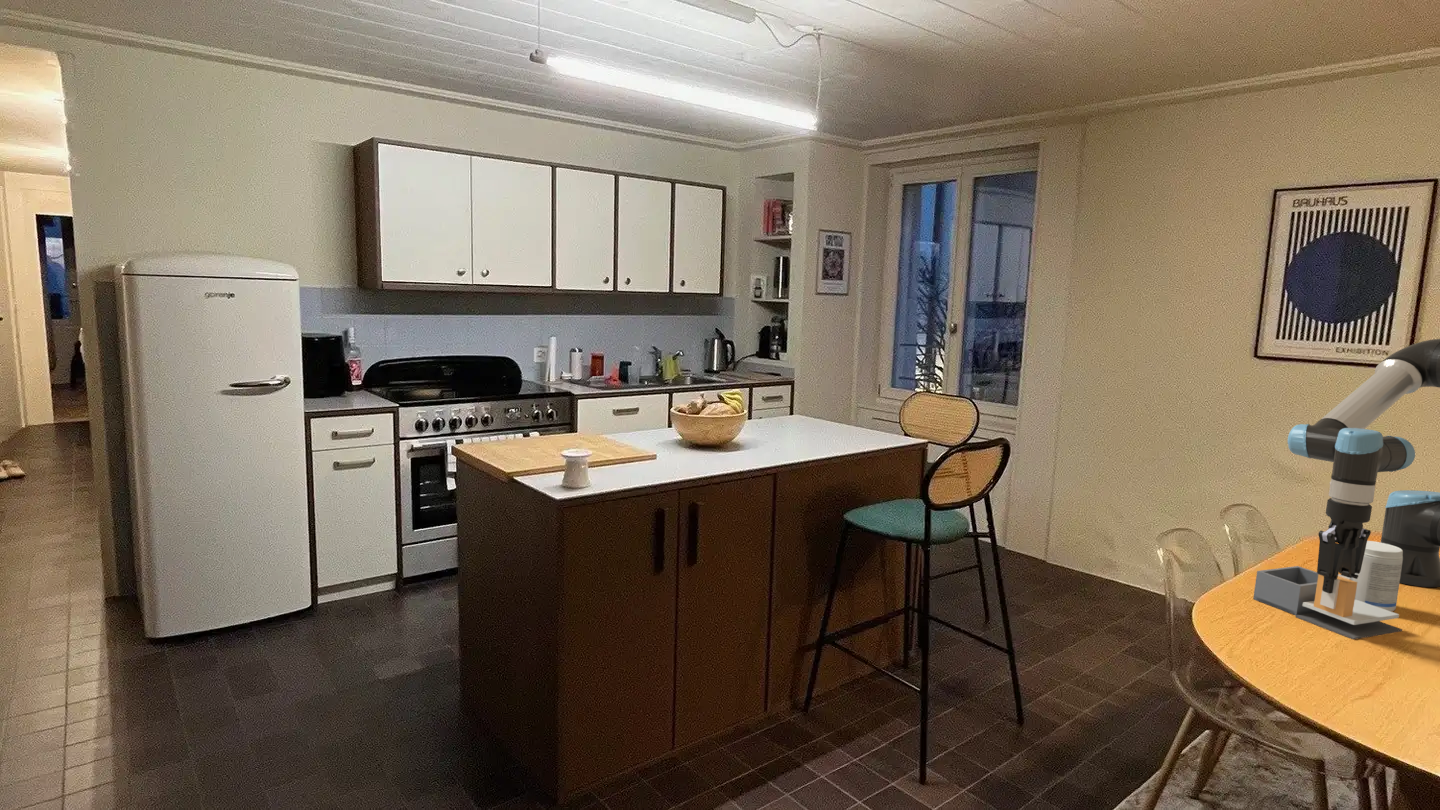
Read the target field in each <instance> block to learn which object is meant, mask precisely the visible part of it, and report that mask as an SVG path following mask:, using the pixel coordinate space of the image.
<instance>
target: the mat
mask: <svg viewBox="0 0 1440 810" xmlns="http://www.w3.org/2000/svg"><path fill="white" fill-rule="evenodd" d="M1294 616H1295V615H1294ZM1295 618H1297V619H1299V620H1302V621H1304V622H1307V623H1310V624H1311V625H1315V626H1317V627H1320V628H1322V629H1325V630H1328V631H1330V632H1333V633H1335V634H1338V635H1340V636H1343V637H1345V638H1348V639H1351V640H1359V639H1365V638H1370V637H1375V636H1383V635H1389V634H1393V633H1398V632H1399V633H1400V632H1403V629H1402V628H1400V627H1397V626H1393V625H1391V624H1388V623H1386V622H1384V621H1376V622H1370V623H1363V624H1357V625H1353V624H1350V623H1347V622H1345V621H1342V620H1339V619H1336V618H1334V617H1331V616H1328V615H1326V614H1323V613H1320V612H1315V613H1308V614H1302V615H1296V616H1295Z"/></svg>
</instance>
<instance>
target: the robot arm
mask: <svg viewBox="0 0 1440 810" xmlns="http://www.w3.org/2000/svg"><path fill="white" fill-rule="evenodd" d="M1426 387H1428V388H1429V387H1433V388H1440V338H1433V339H1427V340H1423V341H1419V342H1417V343H1413V344H1411V345H1408V346H1405V347H1404V348H1401V349H1399V350H1397V351H1395V352H1394V353H1392V354H1390V355H1389V356H1387V357H1386V358H1384V359H1383V360H1382V361H1381V362H1379V363H1378V364H1377V365H1376V367H1375V369H1374V373H1373V374H1372V375H1371V376H1370V377H1368V379H1367V380H1366V381H1364V382H1363V383H1361V385H1359V387H1357V388H1356V389H1355V390H1354V391H1352V392H1351V393H1349V395H1347V396H1346V397H1345V398H1344V399H1343V400H1342V401H1340V402H1339V403H1338V404H1337V405H1336V406H1334V407H1333V408H1332V409H1331V410H1330V411H1328V413H1326V414H1325V415H1324V416H1323V417H1322V418H1320V419H1319V420H1317V422H1316V423H1314V424H1310V423H1306V424H1304V423H1303V424H1302V423H1300V424H1296V425H1295V426H1293V427H1291V430H1290V431H1289V433H1288V436H1287V445H1288V450H1289V451H1290V452H1291V453H1292V454H1294V455H1296V456H1297V455H1298V456H1301V457H1304V458H1307V459H1314V460H1318V461H1324V462H1331V463H1333V464H1332V470H1331V471H1332V472H1331V476H1330V478H1331V479H1330V481H1329V488H1328V489H1329V491H1328V496H1329V497H1330V498H1328V499H1327V501H1326V502H1327V503H1326V509H1325V515H1326V516H1327V517H1328V518H1330V523H1329V524H1328V529H1327V530H1325V531H1324V530H1319V531H1318V538H1319V539H1318V540H1319V546H1318V557H1317V568H1316V572H1317V573H1318V574H1319V575H1322V576H1324V581H1323V588H1322V595H1321V601H1320V604H1321V605H1323V606H1326V607H1329V608H1332V609H1335V608H1336V602H1337V595H1338V589H1339V583H1340V580H1339V579H1337V577H1338V576H1340V577H1343V578H1346V579H1349V580H1351V578H1355V579H1357V578H1358V576H1359V575H1356V574H1355V573H1357V574H1359V573H1360V571H1361V567H1362V562H1363V558H1364V553H1365V549H1366V544H1367V541H1369V538H1370V536H1371V532H1372V531H1371V530H1370V529H1367V528H1364V524H1365V523H1368V522H1370V521H1371V516H1372V509H1373V506H1372V505H1371V504H1372V503H1374V497H1375V490H1376V485H1377V484H1376V483H1377V478H1378V473H1387V472H1390V473H1392V472H1397V471H1400V470H1403V469H1406V468H1408V467H1410V466H1411V465H1412V464H1413V462H1414V461H1415V458H1416V450H1415V447H1414V446H1413V444H1412V443H1411V442H1410V441H1409V440H1407V439H1406V438H1403V437H1400V436H1392V435H1386V436H1383V434H1382V433H1381V432H1380V431H1378V430H1373V429H1366V428H1368V427H1369V426H1370V425H1371V424H1372V423H1374V421H1376V419H1378V418H1379V417H1381V416H1382V414H1384V413H1386V411H1387V410H1388V409H1390V408H1391V407H1392V406H1393V405H1394V404H1395V403H1397V402H1398V401H1399V400H1400V399H1401V398H1402V397H1404V396H1405V395H1408V394H1411V393H1415V392H1416V391H1418V390H1419V389H1420V388H1426ZM1387 497H1388V498H1387V501H1386V505H1385V507H1384V508H1385V511H1384V519H1383V524H1382V525H1383V526H1382V530H1381V531H1382V532H1381V536H1380V538H1381V539H1380V543H1385V544H1389V545H1393V546H1396V547H1398V548H1400V549H1402V550H1403V555H1402V556H1403V561H1402V569H1401V575H1400V582H1399V584H1402V585H1403V584H1404V585H1409V586H1415V587H1422V588H1423V587H1424V588H1440V492H1439V491H1429V490H1409V489H1408V490H1407V489H1405V490H1401V489H1400V490H1394V491H1392V492H1391V493H1389V495H1388V496H1387ZM1355 566H1356V567H1355Z"/></svg>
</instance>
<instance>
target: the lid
mask: <svg viewBox="0 0 1440 810" xmlns="http://www.w3.org/2000/svg"><path fill="white" fill-rule="evenodd" d="M1337 579H1339V580H1340V583H1339V589H1338V595H1337V602H1336V608H1335V609H1332V608H1329V607H1326V606H1323V605H1321V604H1320V601H1321V595H1322V588H1323V581H1324V576H1322V575H1318V581H1317V588H1316V594H1315V601H1309V602H1303V605H1302V606H1304V607H1307V608H1310V609H1312V610H1315V611H1318V612H1320V613H1323V614H1326V615H1328V616H1331V617H1334V618H1336V619H1339V620H1342V621H1345V622H1347V623H1350V624H1353V625H1357V624H1363V623H1370V622H1376V621H1380V622H1383V621H1387V620H1394V619H1395V620H1396V619H1399V617H1400V614H1399V613H1397V612H1394V611H1392V612H1391V611H1388V610H1385V609H1382V608H1379V607H1376V606H1373V605H1370V604H1367V603H1364V602H1362V601H1359V600H1356V599H1355V595H1356V588H1357V582H1355V581H1352V580H1349V579H1346V578H1343V577H1340V576H1338V577H1337Z"/></svg>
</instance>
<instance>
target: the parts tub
mask: <svg viewBox="0 0 1440 810" xmlns="http://www.w3.org/2000/svg"><path fill="white" fill-rule="evenodd" d="M1318 575H1319V574H1318V573H1317V571H1314V570H1311V569H1308V568H1305V567H1302V566H1299V565H1294V566H1287V567H1280V568H1271V569H1261V570H1257V571H1256V575H1255V576H1256V578H1255V584H1254V590H1253V597H1252V598H1253V600H1255V601H1256V602H1259V603H1262V604H1265V605H1267V606H1270V607H1272V608H1275V609H1277V610H1281V611H1282V612H1285V613H1288V614H1290V615H1293V616H1296V615H1302V614H1308V613H1315V612H1318V611H1315V610H1312V609H1310V608H1307V607H1304V606H1302V605H1303V602H1309V601H1315V594H1316V588H1317V581H1318Z"/></svg>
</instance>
